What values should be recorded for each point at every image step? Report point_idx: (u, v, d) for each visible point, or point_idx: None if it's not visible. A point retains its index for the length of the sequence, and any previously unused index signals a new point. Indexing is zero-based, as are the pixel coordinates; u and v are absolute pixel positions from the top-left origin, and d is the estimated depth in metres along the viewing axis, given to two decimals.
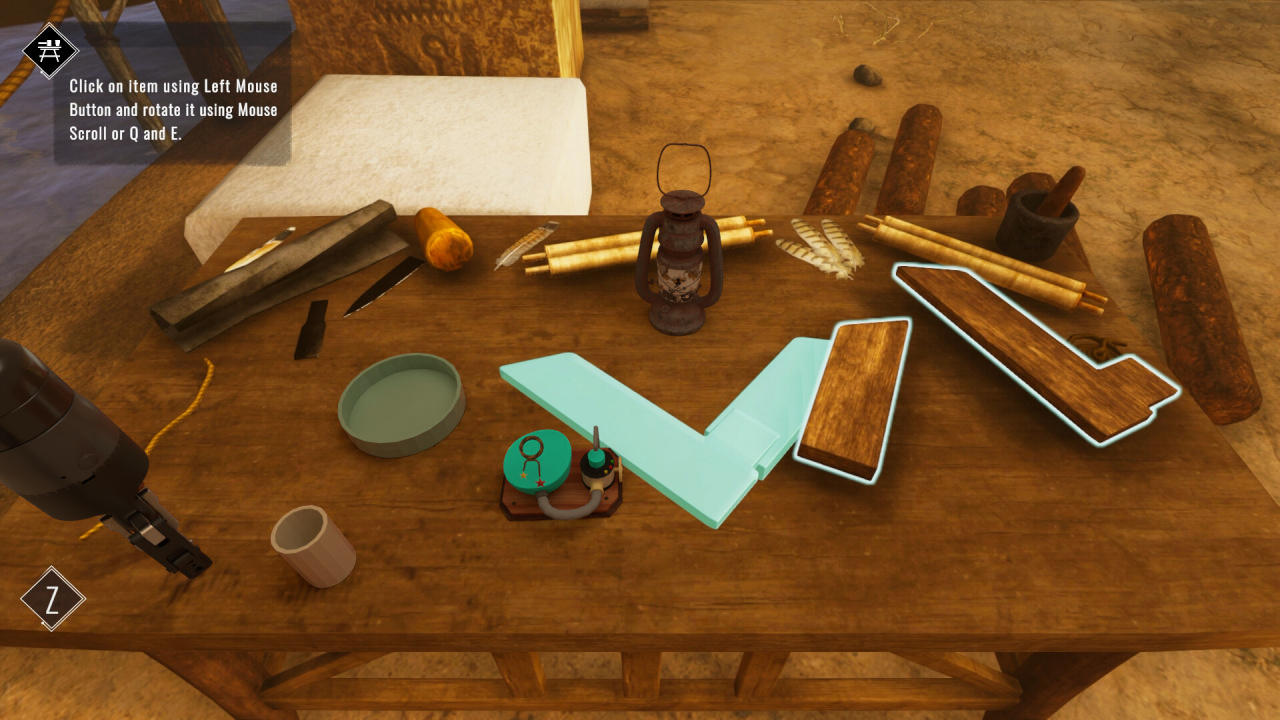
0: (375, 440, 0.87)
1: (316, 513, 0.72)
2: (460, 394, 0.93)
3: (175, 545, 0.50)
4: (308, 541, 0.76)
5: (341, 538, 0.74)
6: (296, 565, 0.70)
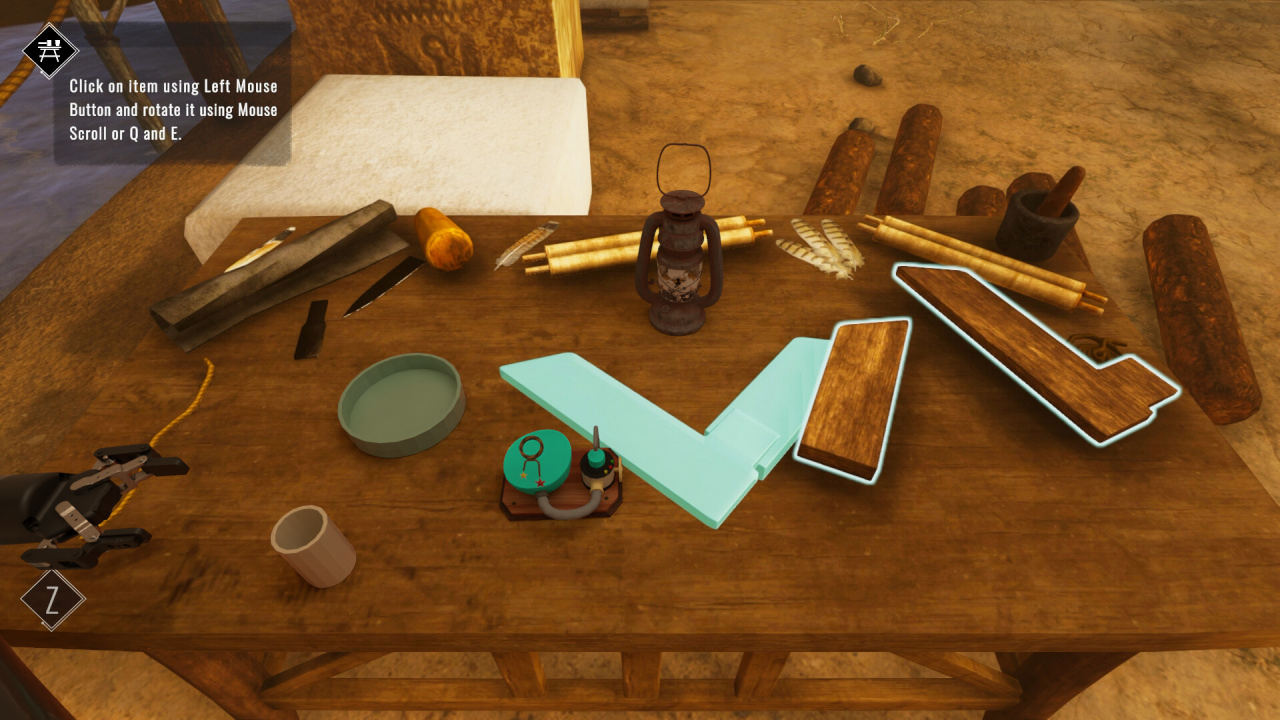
0: (375, 440, 0.87)
1: (316, 513, 0.72)
2: (460, 394, 0.93)
3: None
4: (308, 541, 0.76)
5: (341, 538, 0.74)
6: (296, 565, 0.70)
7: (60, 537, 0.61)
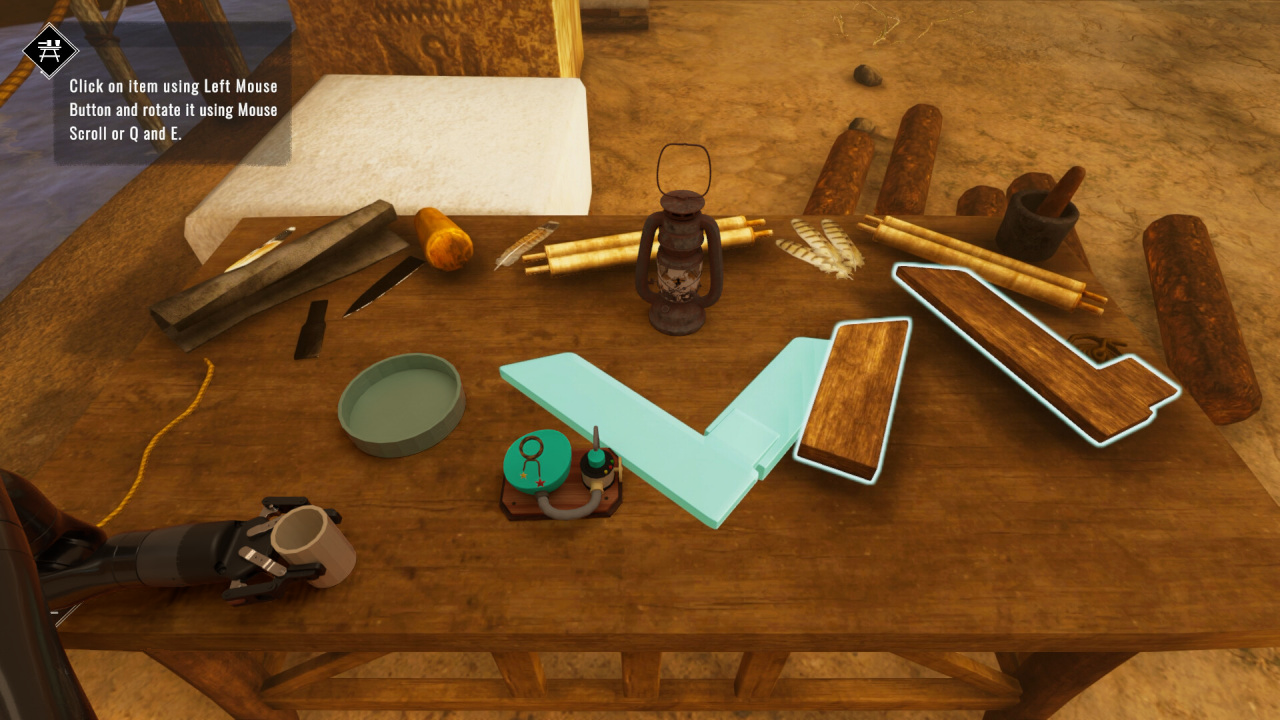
0: (375, 440, 0.87)
1: (316, 513, 0.72)
2: (460, 394, 0.93)
3: None
4: (308, 541, 0.76)
5: (341, 538, 0.74)
6: None
7: (243, 578, 0.70)
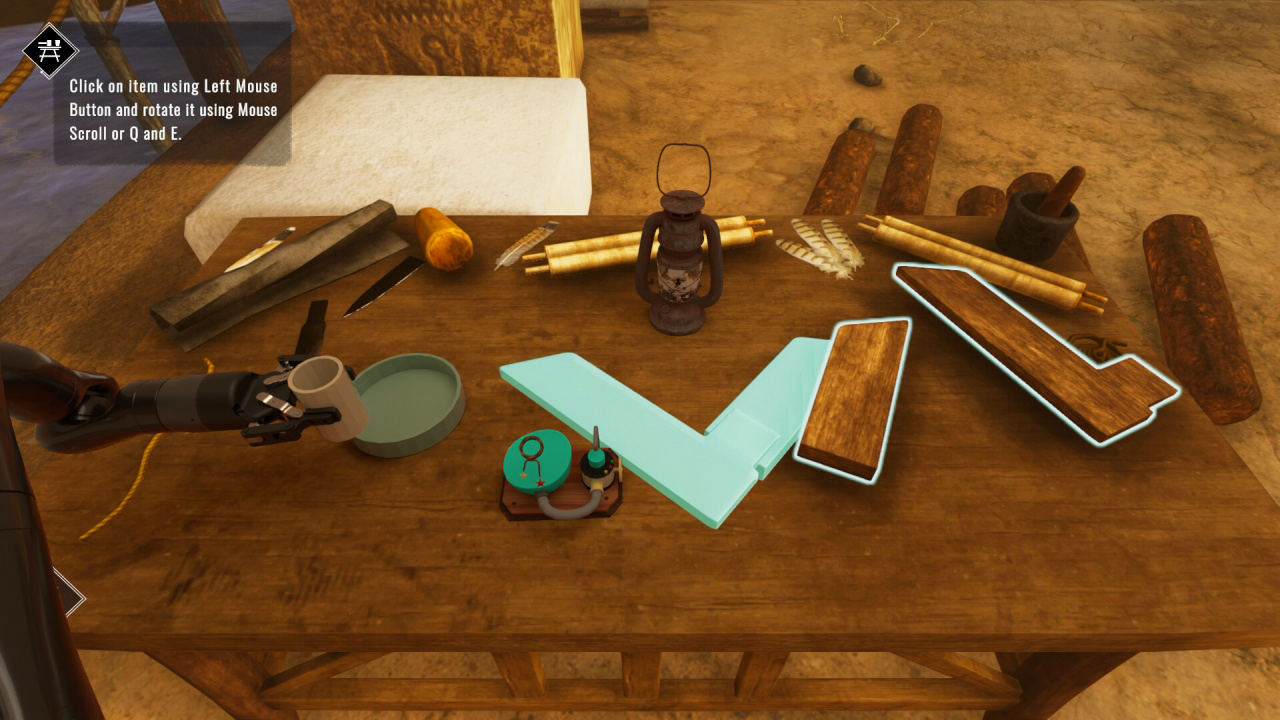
0: (375, 440, 0.87)
1: (331, 364, 0.74)
2: (460, 394, 0.93)
3: None
4: None
5: (355, 391, 0.76)
6: None
7: (260, 422, 0.72)
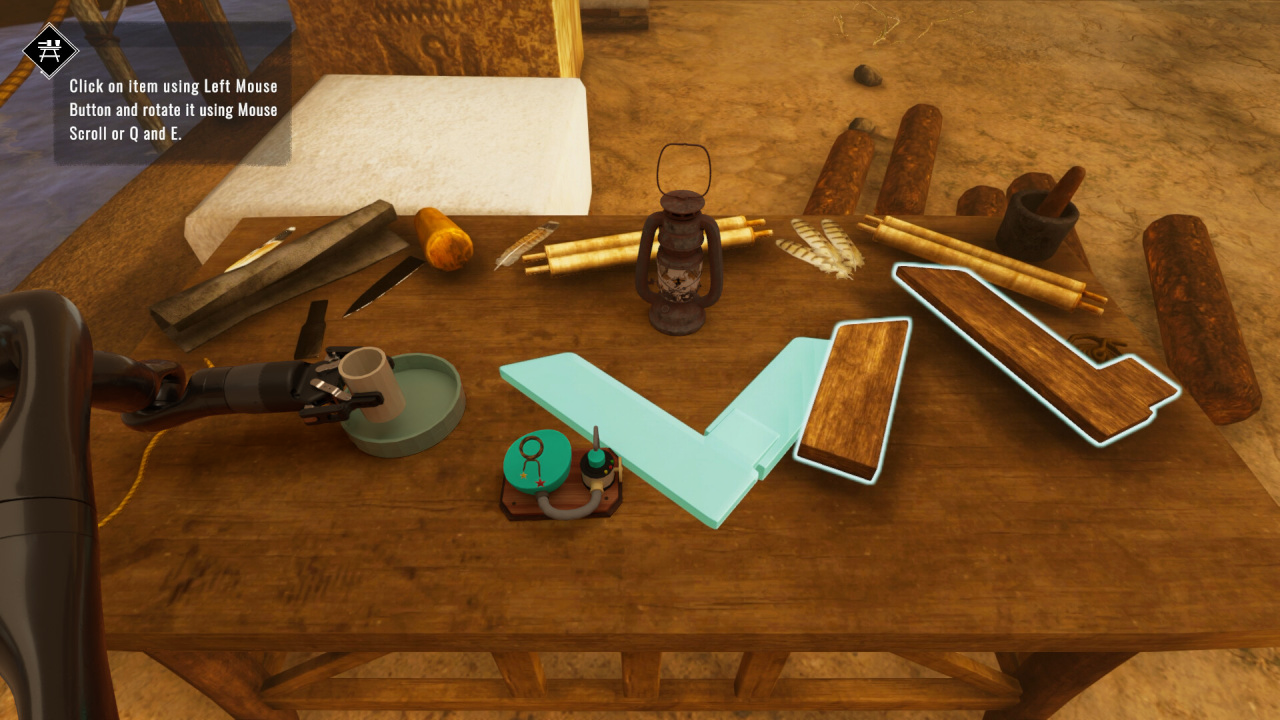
0: (375, 440, 0.87)
1: (375, 354, 0.84)
2: (460, 394, 0.93)
3: None
4: None
5: (395, 378, 0.86)
6: None
7: (314, 404, 0.82)
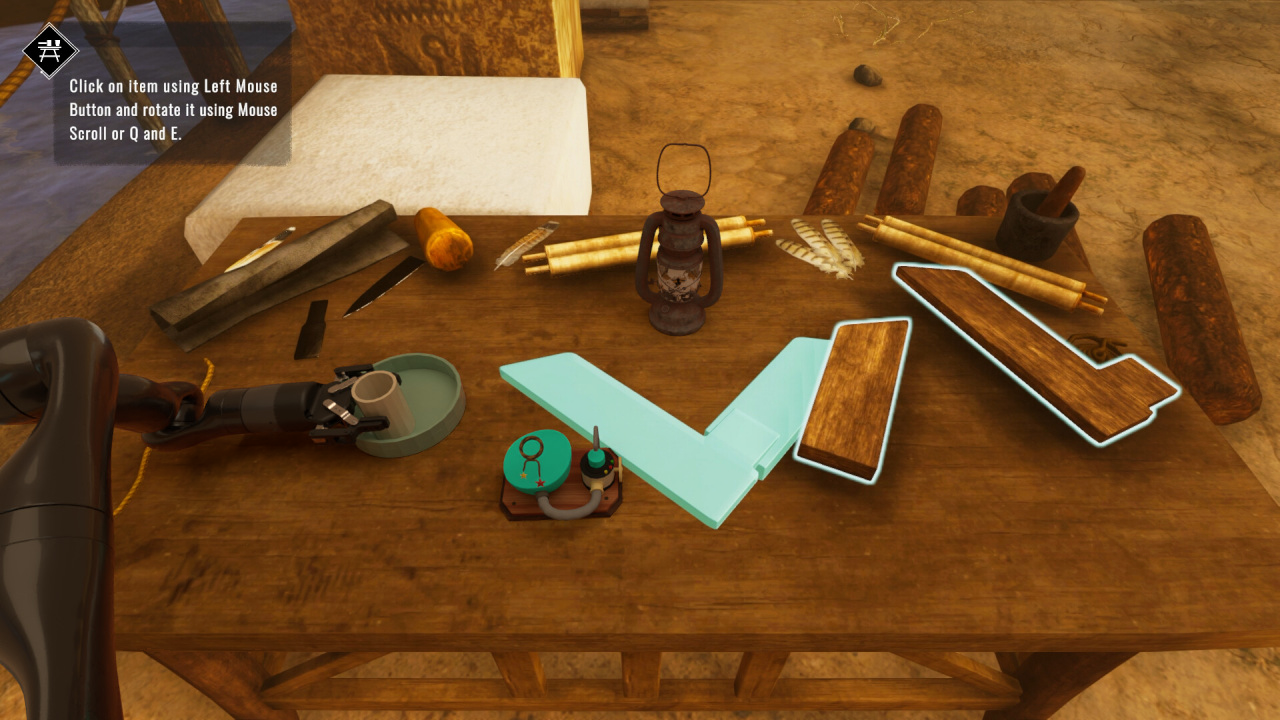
0: (375, 440, 0.87)
1: (386, 377, 0.88)
2: (460, 394, 0.93)
3: None
4: None
5: (405, 400, 0.89)
6: None
7: (326, 424, 0.85)
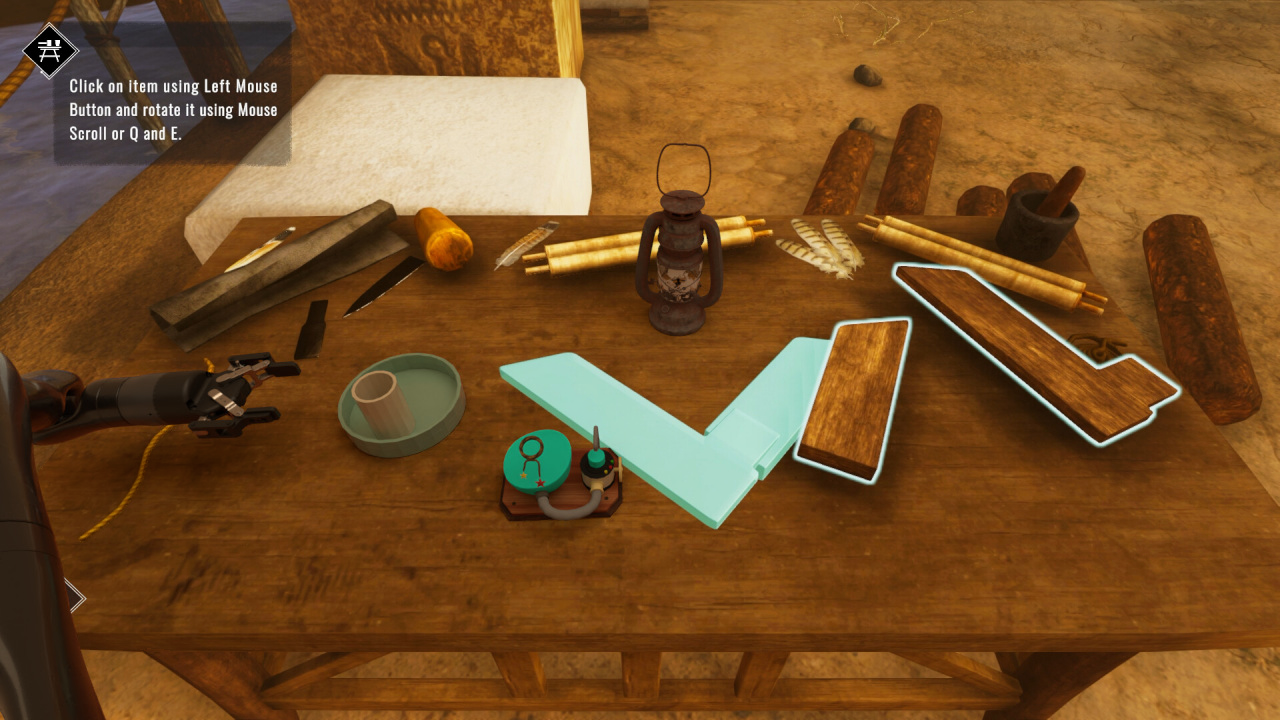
0: (375, 440, 0.87)
1: (386, 377, 0.88)
2: (460, 394, 0.93)
3: (255, 361, 0.87)
4: None
5: (405, 400, 0.89)
6: (371, 416, 0.85)
7: (212, 416, 0.79)
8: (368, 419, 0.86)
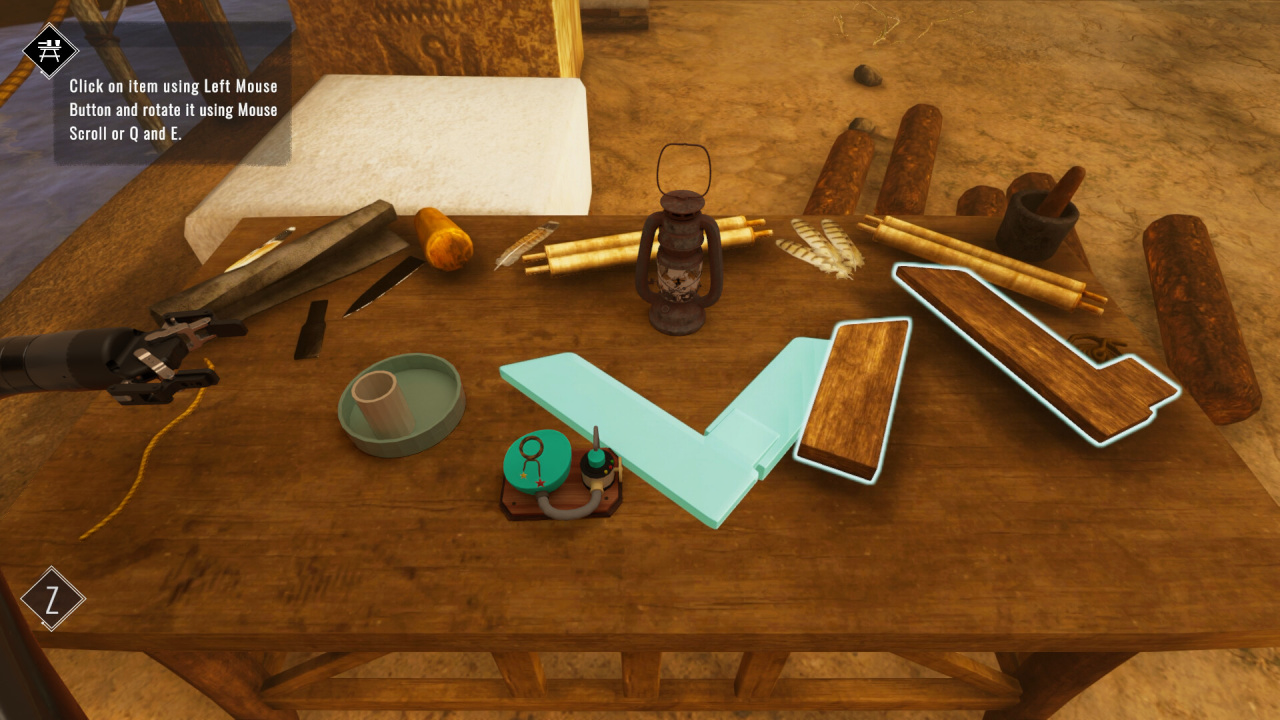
0: (375, 440, 0.87)
1: (386, 377, 0.88)
2: (460, 394, 0.93)
3: None
4: None
5: (405, 400, 0.89)
6: (371, 416, 0.85)
7: (138, 379, 0.67)
8: (368, 419, 0.86)
